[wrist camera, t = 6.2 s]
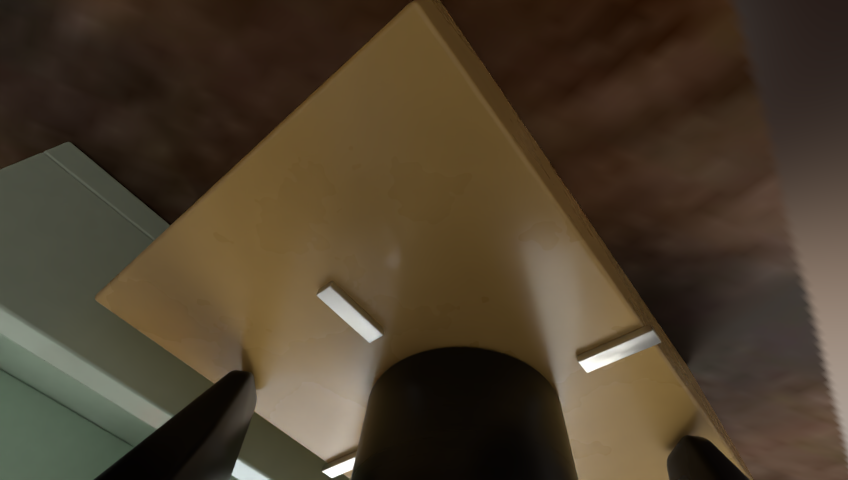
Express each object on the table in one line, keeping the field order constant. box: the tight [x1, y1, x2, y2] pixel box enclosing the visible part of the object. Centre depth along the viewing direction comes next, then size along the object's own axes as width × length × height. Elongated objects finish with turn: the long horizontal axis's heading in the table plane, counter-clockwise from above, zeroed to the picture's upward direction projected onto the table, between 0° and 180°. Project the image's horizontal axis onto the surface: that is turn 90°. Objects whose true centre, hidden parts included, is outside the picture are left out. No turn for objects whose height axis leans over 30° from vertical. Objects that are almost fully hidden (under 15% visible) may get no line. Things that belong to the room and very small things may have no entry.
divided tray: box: [0, 142, 350, 480], centre depth 14 cm, size 10×19×4 cm, turn 38°
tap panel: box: [95, 0, 754, 480], centre depth 11 cm, size 13×8×4 cm, turn 39°
